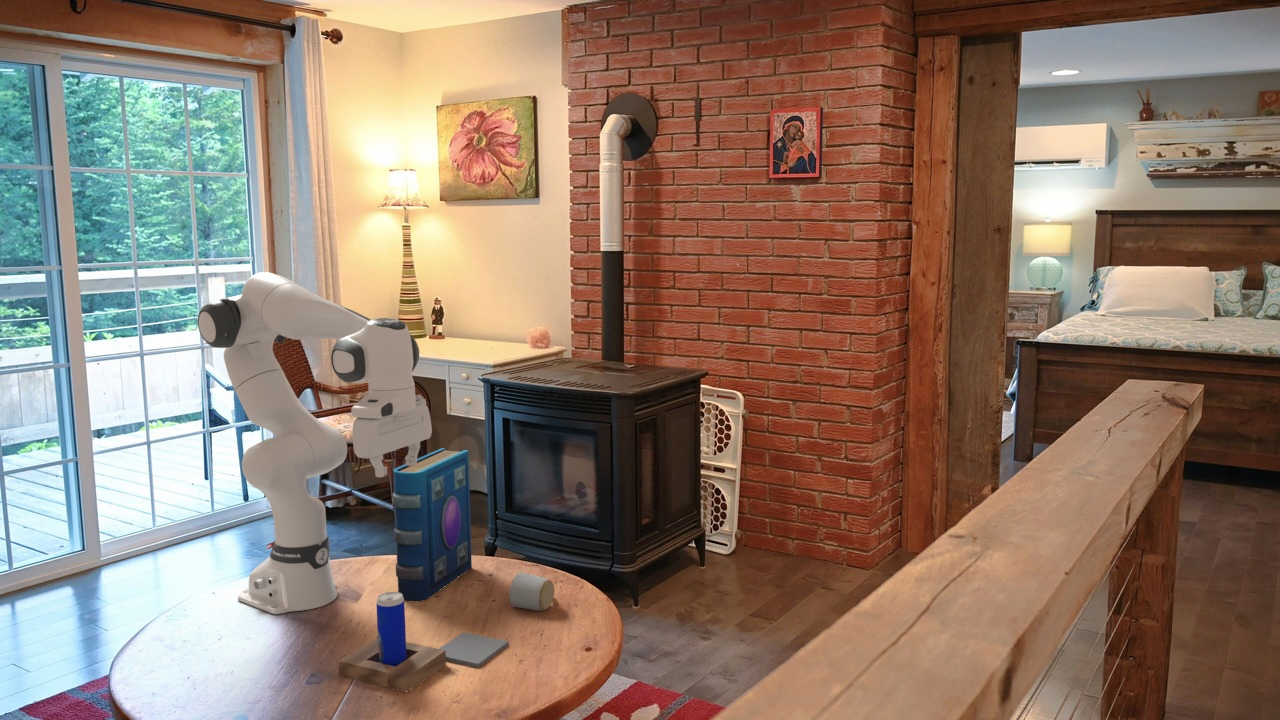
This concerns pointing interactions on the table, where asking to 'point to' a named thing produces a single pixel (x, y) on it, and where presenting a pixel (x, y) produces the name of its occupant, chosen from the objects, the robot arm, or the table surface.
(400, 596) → the beverage can
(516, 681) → the table surface
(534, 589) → the ceramic mug
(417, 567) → the book
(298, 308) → the robot arm
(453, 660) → the rubber mat
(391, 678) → the walnut caddy
